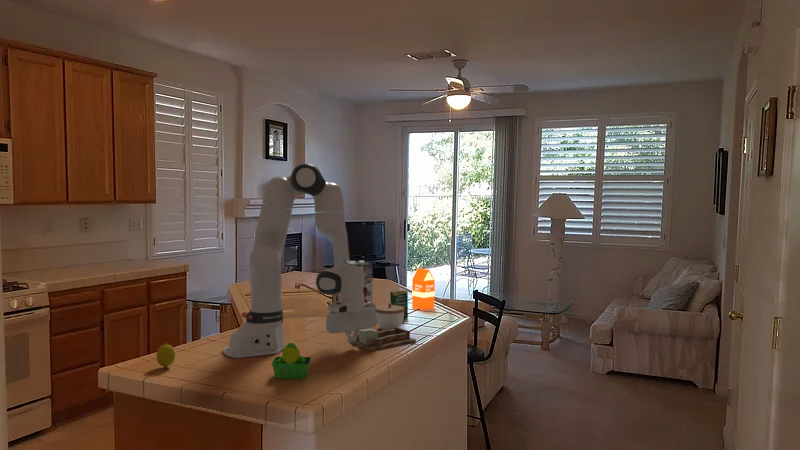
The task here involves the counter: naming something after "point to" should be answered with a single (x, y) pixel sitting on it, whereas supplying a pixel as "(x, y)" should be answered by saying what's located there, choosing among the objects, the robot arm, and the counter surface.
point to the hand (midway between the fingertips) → (352, 341)
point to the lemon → (165, 355)
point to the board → (387, 339)
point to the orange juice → (423, 289)
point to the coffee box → (400, 300)
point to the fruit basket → (291, 363)
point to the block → (367, 335)
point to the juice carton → (367, 281)
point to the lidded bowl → (389, 316)
